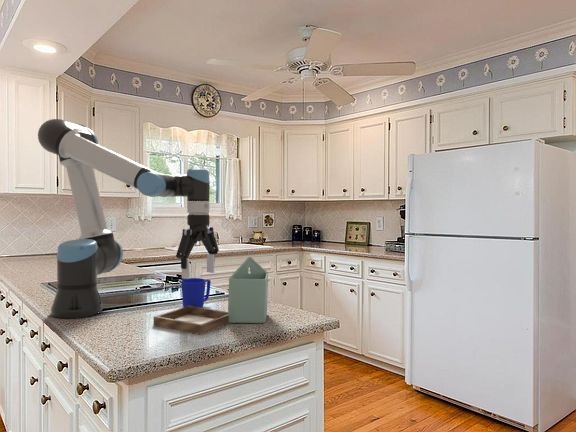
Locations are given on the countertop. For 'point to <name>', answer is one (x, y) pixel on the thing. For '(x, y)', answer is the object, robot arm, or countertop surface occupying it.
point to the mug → (194, 291)
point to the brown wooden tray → (192, 319)
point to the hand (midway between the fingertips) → (198, 275)
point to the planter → (248, 294)
